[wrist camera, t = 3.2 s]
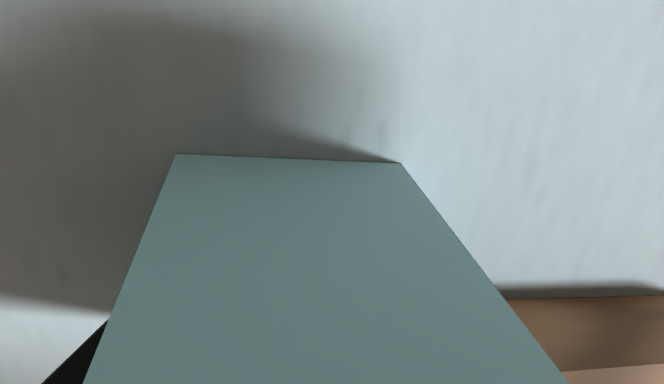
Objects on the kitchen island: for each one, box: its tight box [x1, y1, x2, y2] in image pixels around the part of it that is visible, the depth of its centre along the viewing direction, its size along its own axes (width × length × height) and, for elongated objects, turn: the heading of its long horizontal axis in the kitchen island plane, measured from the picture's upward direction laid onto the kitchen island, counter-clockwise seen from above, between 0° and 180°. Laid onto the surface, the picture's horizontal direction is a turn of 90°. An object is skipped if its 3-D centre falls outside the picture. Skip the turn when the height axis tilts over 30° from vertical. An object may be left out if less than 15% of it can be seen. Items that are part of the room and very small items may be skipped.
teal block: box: [83, 154, 569, 384], centre depth 7 cm, size 5×5×7 cm
